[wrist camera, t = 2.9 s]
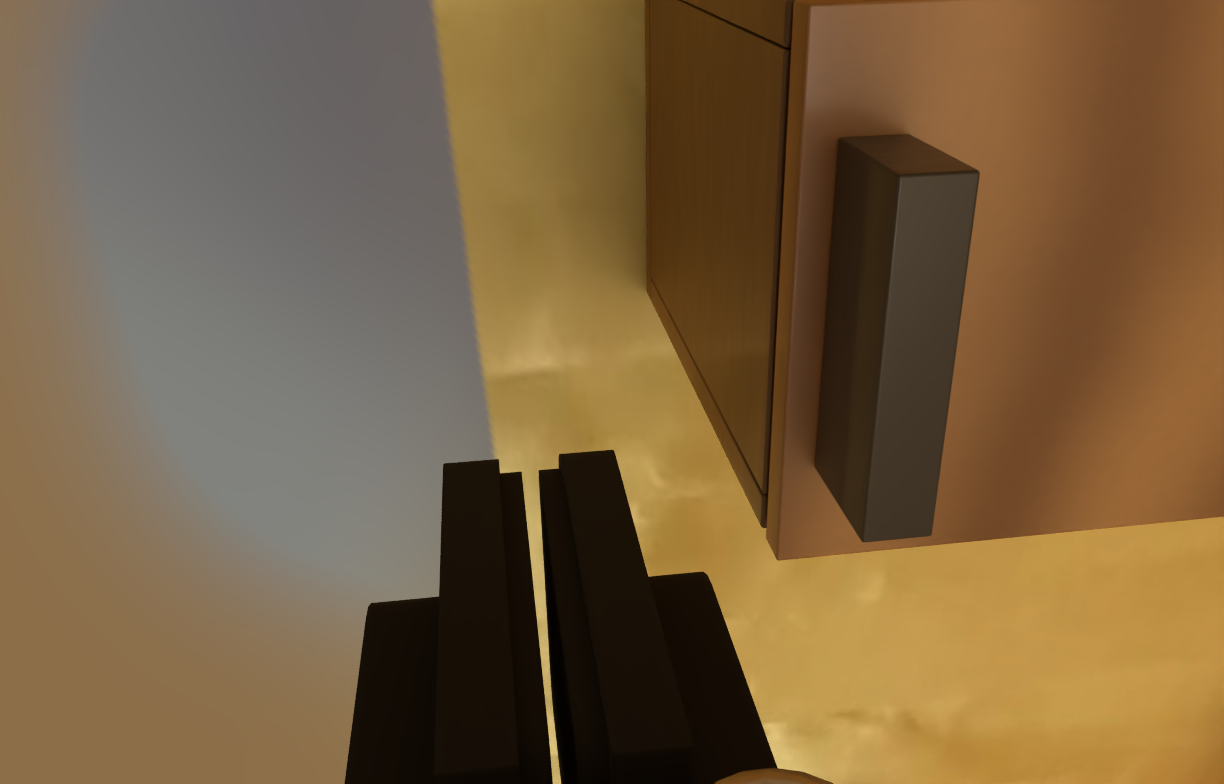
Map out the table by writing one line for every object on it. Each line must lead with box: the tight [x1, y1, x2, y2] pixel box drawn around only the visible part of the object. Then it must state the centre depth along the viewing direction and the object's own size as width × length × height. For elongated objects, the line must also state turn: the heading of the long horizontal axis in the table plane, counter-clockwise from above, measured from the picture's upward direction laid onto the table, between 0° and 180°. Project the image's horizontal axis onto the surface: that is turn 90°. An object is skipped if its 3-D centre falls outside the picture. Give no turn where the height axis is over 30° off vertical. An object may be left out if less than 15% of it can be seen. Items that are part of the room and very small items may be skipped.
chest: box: [645, 0, 795, 528], centre depth 25 cm, size 10×10×14 cm
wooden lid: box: [766, 0, 1224, 560], centre depth 17 cm, size 10×10×3 cm
